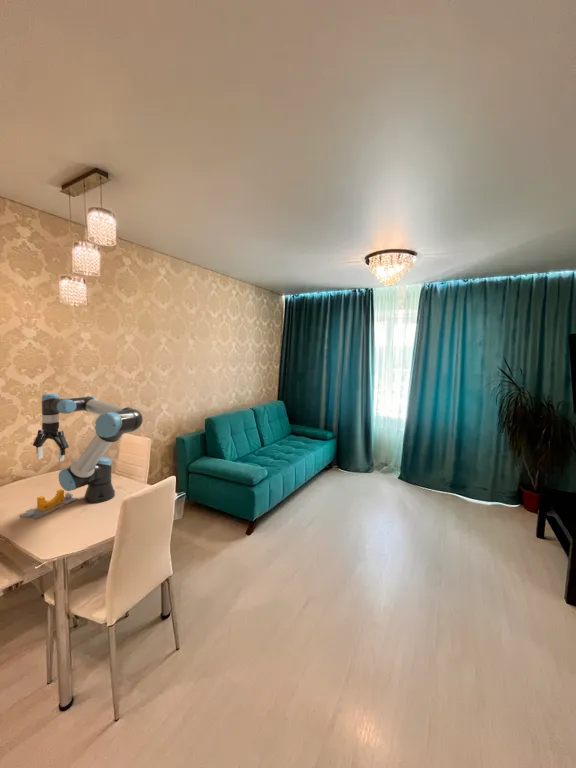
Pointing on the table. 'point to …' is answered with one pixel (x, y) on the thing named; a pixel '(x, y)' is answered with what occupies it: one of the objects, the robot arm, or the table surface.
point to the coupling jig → (37, 513)
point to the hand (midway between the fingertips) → (50, 459)
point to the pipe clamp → (45, 505)
